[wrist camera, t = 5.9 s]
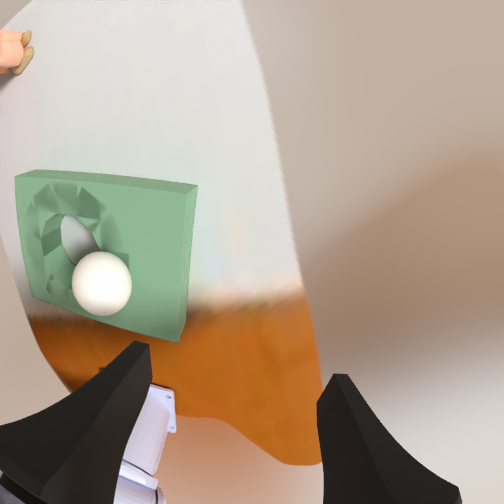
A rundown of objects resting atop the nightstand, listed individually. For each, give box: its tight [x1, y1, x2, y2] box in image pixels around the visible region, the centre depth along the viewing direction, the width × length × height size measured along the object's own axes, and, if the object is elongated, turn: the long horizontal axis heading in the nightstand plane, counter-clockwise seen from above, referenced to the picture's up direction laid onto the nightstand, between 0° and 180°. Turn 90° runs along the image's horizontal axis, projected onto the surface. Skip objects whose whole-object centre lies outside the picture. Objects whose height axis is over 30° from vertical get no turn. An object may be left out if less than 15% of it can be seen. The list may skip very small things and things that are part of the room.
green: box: [15, 170, 198, 343], centre depth 16 cm, size 10×14×2 cm
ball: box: [72, 251, 132, 316], centre depth 13 cm, size 4×4×4 cm
